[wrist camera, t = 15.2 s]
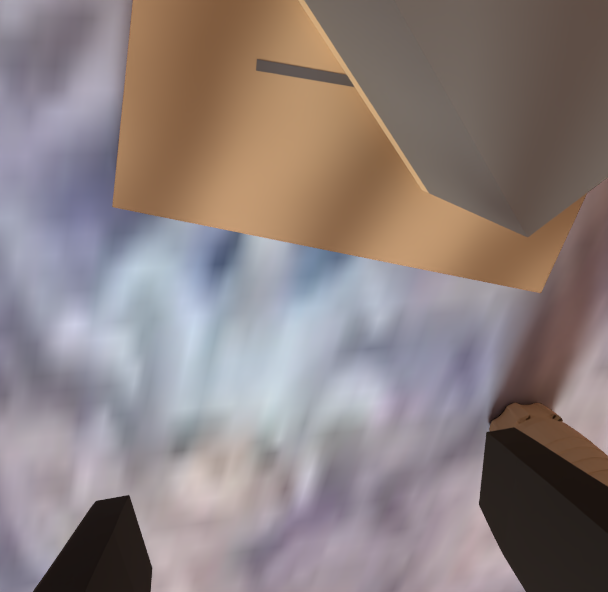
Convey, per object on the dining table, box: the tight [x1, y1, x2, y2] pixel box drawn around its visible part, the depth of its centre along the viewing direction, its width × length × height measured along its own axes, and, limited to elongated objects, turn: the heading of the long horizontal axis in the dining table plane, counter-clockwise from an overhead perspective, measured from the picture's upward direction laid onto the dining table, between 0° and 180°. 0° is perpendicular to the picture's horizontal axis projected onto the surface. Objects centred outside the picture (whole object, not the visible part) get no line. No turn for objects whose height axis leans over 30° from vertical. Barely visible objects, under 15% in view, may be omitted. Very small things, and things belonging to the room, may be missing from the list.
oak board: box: [112, 0, 587, 293], centre depth 15 cm, size 16×12×1 cm
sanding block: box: [298, 0, 608, 237], centre depth 11 cm, size 8×5×6 cm, turn 38°
